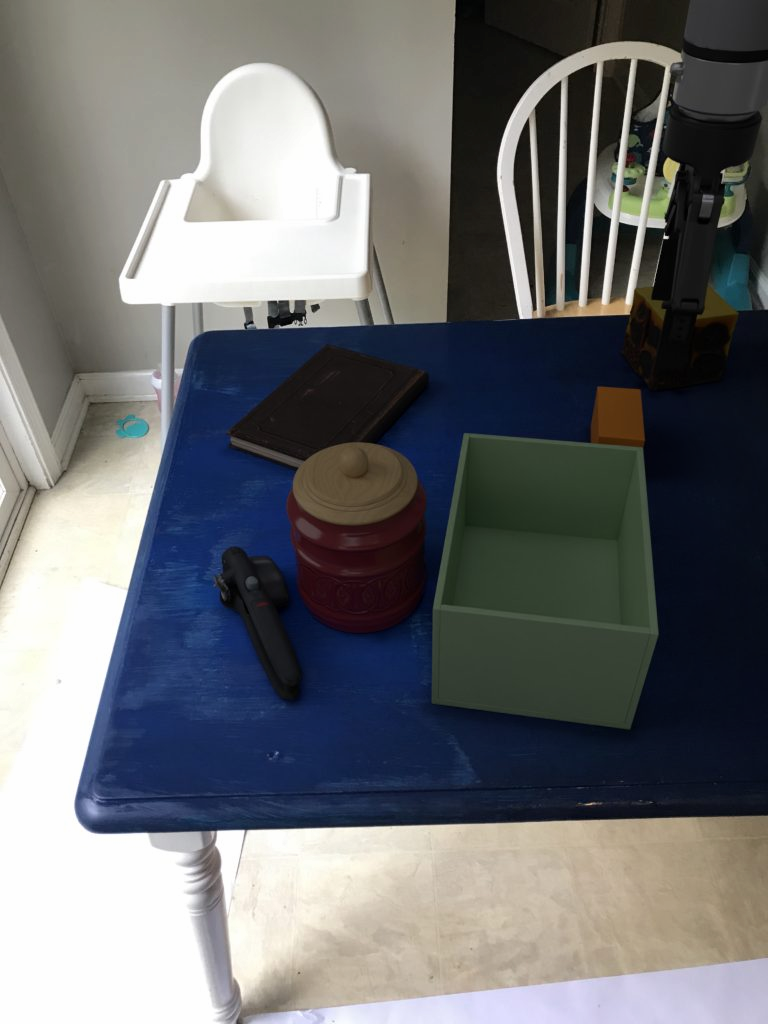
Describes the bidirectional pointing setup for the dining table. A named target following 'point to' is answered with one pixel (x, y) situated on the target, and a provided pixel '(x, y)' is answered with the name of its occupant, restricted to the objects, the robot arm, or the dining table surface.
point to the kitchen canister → (358, 536)
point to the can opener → (261, 615)
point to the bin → (546, 582)
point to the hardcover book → (327, 406)
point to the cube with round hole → (704, 347)
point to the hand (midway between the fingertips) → (666, 331)
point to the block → (618, 417)
